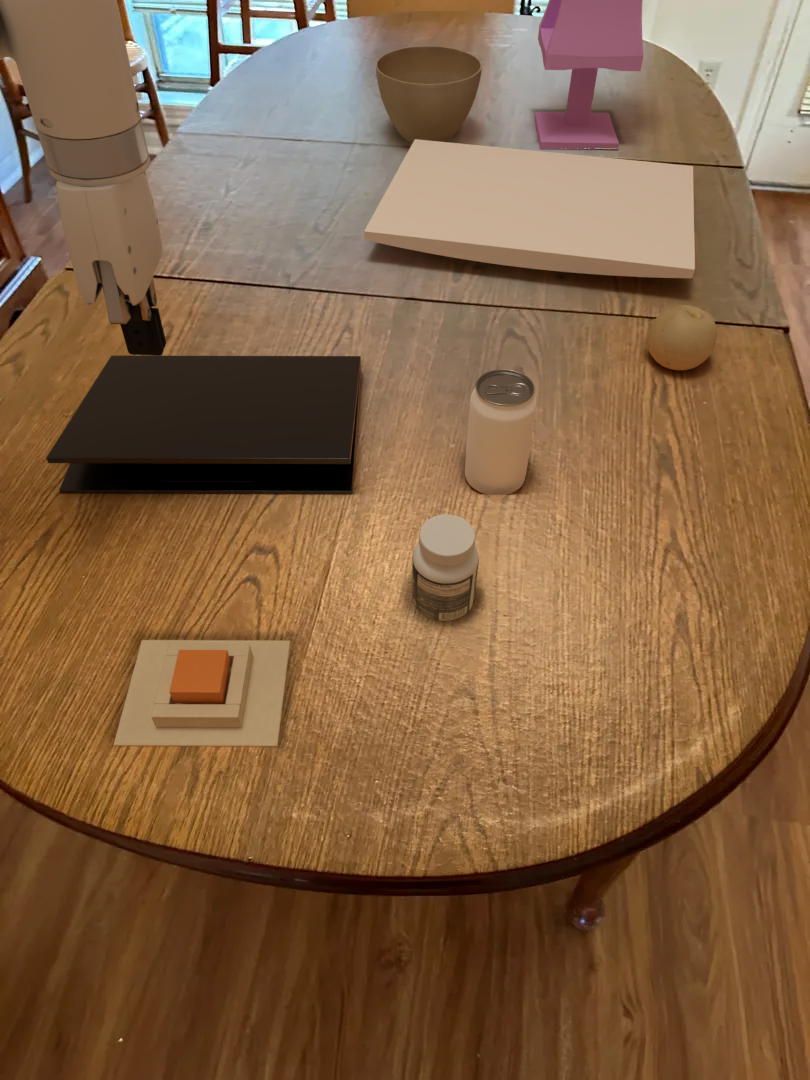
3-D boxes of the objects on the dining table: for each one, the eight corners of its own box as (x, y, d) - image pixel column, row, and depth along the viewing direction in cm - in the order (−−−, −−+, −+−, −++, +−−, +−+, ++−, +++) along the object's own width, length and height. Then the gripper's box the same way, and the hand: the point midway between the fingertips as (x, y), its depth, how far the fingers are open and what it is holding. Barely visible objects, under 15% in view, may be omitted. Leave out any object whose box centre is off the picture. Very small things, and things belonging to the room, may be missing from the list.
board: (365, 262, 113) (364, 231, 110) (414, 167, 134) (414, 139, 130) (685, 301, 107) (694, 269, 103) (685, 195, 127) (693, 166, 124)
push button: (173, 703, 63) (168, 692, 62) (183, 661, 66) (178, 649, 64) (223, 703, 63) (219, 692, 62) (231, 661, 66) (227, 649, 64)
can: (528, 498, 82) (543, 408, 73) (466, 498, 82) (473, 408, 73) (521, 456, 86) (534, 366, 77) (462, 456, 86) (469, 366, 77)
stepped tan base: (118, 753, 63) (106, 734, 61) (145, 649, 70) (136, 628, 67) (279, 754, 63) (274, 735, 61) (292, 649, 70) (288, 628, 67)
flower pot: (357, 136, 143) (353, 62, 133) (429, 110, 151) (430, 38, 141) (424, 169, 134) (426, 91, 125) (497, 139, 142) (504, 64, 133)
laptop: (352, 503, 81) (351, 490, 80) (64, 502, 82) (58, 489, 80) (361, 374, 96) (360, 361, 95) (116, 373, 96) (112, 360, 95)
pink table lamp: (529, 116, 149) (555, -123, 122) (611, 117, 148) (656, -122, 122) (534, 151, 138) (565, -102, 112) (623, 152, 138) (675, -101, 112)
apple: (625, 356, 98) (647, 293, 95) (669, 366, 102) (690, 306, 99) (672, 372, 91) (696, 305, 89) (716, 381, 96) (740, 317, 93)
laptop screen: (350, 465, 78) (349, 458, 77) (48, 464, 78) (45, 457, 77) (360, 361, 95) (360, 355, 94) (112, 361, 95) (111, 355, 94)
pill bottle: (424, 573, 75) (426, 501, 68) (481, 591, 74) (490, 519, 66) (402, 618, 72) (402, 548, 64) (462, 637, 70) (469, 567, 63)
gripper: (73, 106, 64) (126, 305, 78) (12, 188, 54) (85, 399, 68) (165, 109, 65) (202, 307, 78) (121, 192, 55) (172, 401, 68)
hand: (147, 349), depth 73 cm, fingers closed
